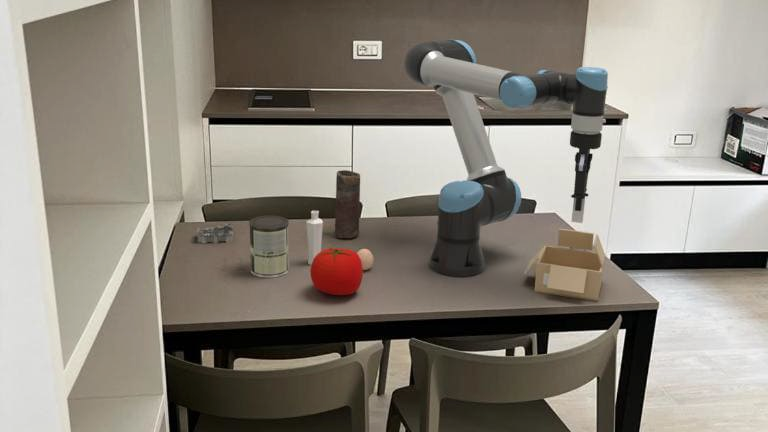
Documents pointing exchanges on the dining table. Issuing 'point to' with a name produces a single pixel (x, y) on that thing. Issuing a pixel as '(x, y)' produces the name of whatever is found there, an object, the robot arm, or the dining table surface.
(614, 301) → the dining table surface
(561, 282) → the front flap
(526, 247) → the dining table surface
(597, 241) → the right flap
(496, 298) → the dining table surface
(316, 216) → the perfume bottle
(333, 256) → the tomato
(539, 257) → the left flap
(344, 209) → the candle
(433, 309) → the dining table surface
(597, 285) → the carton
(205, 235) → the egg carton
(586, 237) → the back flap
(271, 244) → the coffee can
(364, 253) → the egg
